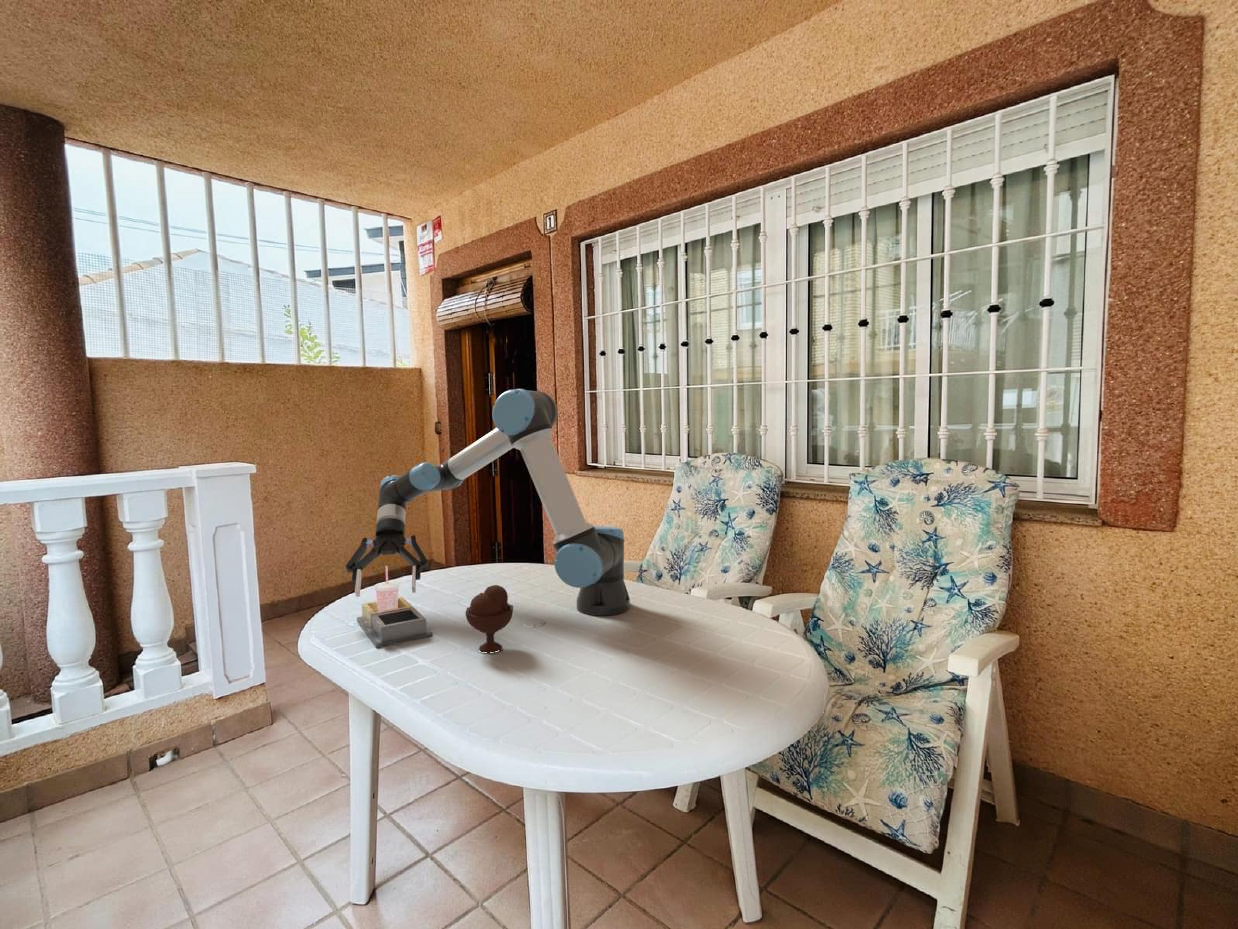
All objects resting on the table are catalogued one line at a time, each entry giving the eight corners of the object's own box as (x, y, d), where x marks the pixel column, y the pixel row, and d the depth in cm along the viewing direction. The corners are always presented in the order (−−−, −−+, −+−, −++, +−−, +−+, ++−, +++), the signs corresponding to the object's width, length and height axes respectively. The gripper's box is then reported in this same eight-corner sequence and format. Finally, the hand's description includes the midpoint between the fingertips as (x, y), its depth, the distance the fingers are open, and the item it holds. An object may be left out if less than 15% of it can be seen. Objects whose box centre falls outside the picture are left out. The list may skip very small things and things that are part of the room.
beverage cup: (375, 623, 148) (373, 569, 147) (375, 616, 154) (373, 564, 153) (401, 620, 150) (399, 567, 149) (399, 613, 156) (398, 562, 155)
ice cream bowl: (496, 636, 142) (495, 576, 141) (523, 649, 134) (522, 586, 133) (457, 648, 134) (456, 585, 133) (483, 663, 126) (482, 595, 125)
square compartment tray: (432, 635, 142) (431, 618, 142) (376, 647, 135) (375, 629, 134) (407, 611, 160) (407, 595, 160) (356, 621, 153) (356, 604, 152)
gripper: (438, 529, 168) (437, 595, 155) (344, 534, 162) (335, 603, 149) (436, 514, 163) (435, 581, 150) (340, 518, 156) (330, 588, 143)
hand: (385, 592), depth 149 cm, fingers open, 13 cm apart
